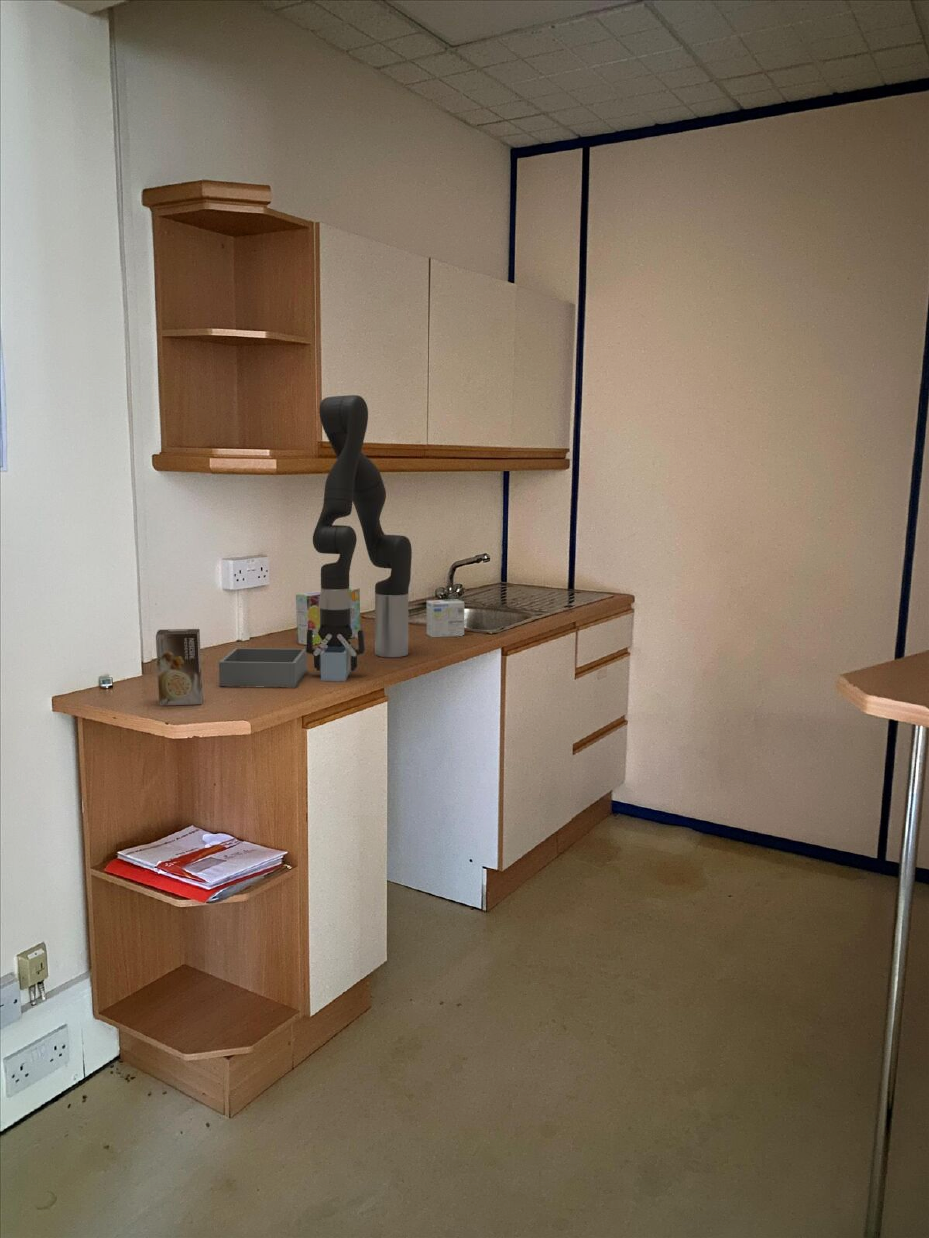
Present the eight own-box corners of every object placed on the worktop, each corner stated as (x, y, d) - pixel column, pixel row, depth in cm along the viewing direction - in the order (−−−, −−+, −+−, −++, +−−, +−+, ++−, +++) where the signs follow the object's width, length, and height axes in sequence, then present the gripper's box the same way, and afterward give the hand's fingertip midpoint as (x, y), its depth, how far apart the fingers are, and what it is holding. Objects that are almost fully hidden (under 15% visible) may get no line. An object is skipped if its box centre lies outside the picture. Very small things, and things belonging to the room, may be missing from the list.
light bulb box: (457, 632, 307) (458, 598, 305) (465, 636, 301) (465, 601, 299) (425, 634, 303) (425, 599, 302) (432, 638, 297) (432, 603, 295)
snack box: (348, 634, 301) (348, 586, 299) (361, 636, 298) (361, 587, 295) (295, 644, 285) (295, 593, 282) (308, 646, 281) (308, 595, 279)
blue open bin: (326, 671, 249) (326, 645, 248) (350, 672, 249) (349, 645, 248) (320, 680, 239) (320, 652, 238) (345, 681, 239) (345, 653, 238)
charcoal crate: (235, 671, 248) (235, 648, 247) (306, 672, 248) (306, 649, 247) (219, 686, 231) (218, 662, 230) (295, 687, 232) (295, 663, 231)
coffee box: (203, 697, 221) (201, 628, 218) (201, 705, 215) (198, 633, 212) (161, 699, 219) (158, 628, 217) (157, 706, 213) (154, 634, 211)
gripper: (365, 604, 245) (365, 667, 247) (308, 603, 245) (309, 666, 247) (362, 608, 237) (362, 673, 240) (304, 608, 237) (304, 673, 240)
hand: (335, 670), depth 244 cm, fingers open, 8 cm apart
